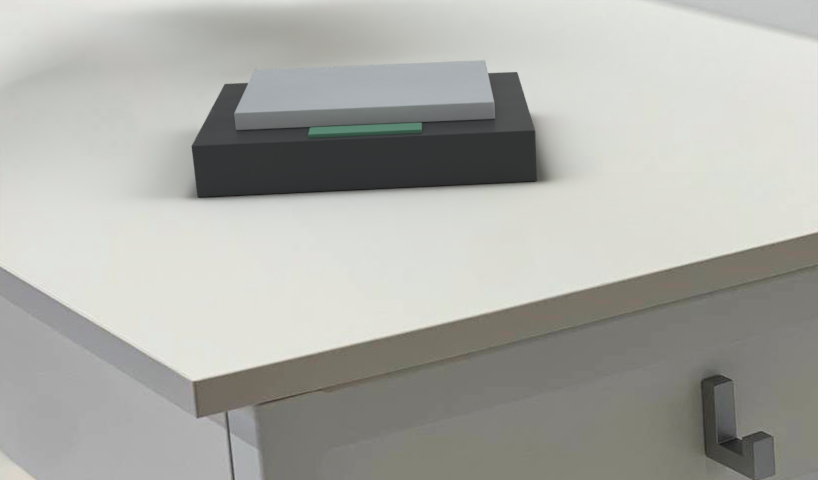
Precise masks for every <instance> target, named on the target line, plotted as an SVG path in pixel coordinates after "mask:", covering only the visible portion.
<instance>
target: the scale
mask: <svg viewBox="0 0 818 480" xmlns="http://www.w3.org/2000/svg"><path fill="white" fill-rule="evenodd" d="M522 86H523V85H522V83H521V79H520V76H519V73H518V72H517V71H507V72H506V71H505V72H504V71H503V72H489V71H488V67H487V62H486V60H485V59H483V60H479V59H478V60H459V61H458V60H455V61H432V62H409V63H408V62H407V63H406V62H405V63H385V64H383V63H381V64H357V65H335V66H334V65H331V66H308V67H307V66H306V67H282V68H257V69H256V68H255V69H254V70H253V72H252V75H251V77H250V78H249V81H248V82H238V83H237V82H236V83H224V84H223V86H222V88H221V90H220V92H219V93H218V96H217V98H216V99H215V101H214V103H213V105H212V107H211V108H210V110H209V112H208V113H207V116H206V118H205V120H204V122H203V124H202V125H201V128H200V130H199V131H198V133H197V135H196V137H195V139H194V141H193V143H192V144H191V154H192V163H193V171H194V172H193V173H194V179H195V189H196V196H197V198H211V197H230V196H231V197H232V196H233V197H234V196H250V195H251V196H252V195H272V194H273V195H275V194H292V193H293V194H295V193H296V194H297V193H314V192H333V191H334V192H335V191H336V192H338V191H356V190H357V191H358V190H377V189H398V188H421V187H440V186H442V187H443V186H462V185H463V186H464V185H481V184H482V185H483V184H501V183H503V184H504V183H505V184H506V183H521V182H522V183H523V182H527V183H528V182H538V168H537V167H538V166H537V142H536V138H537V137H536V129H535V126H534V122H533V119H532V115H531V113H530V110H529V106H528V103H527V99H526V96H525V93H524V89H523V87H522Z"/></svg>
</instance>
